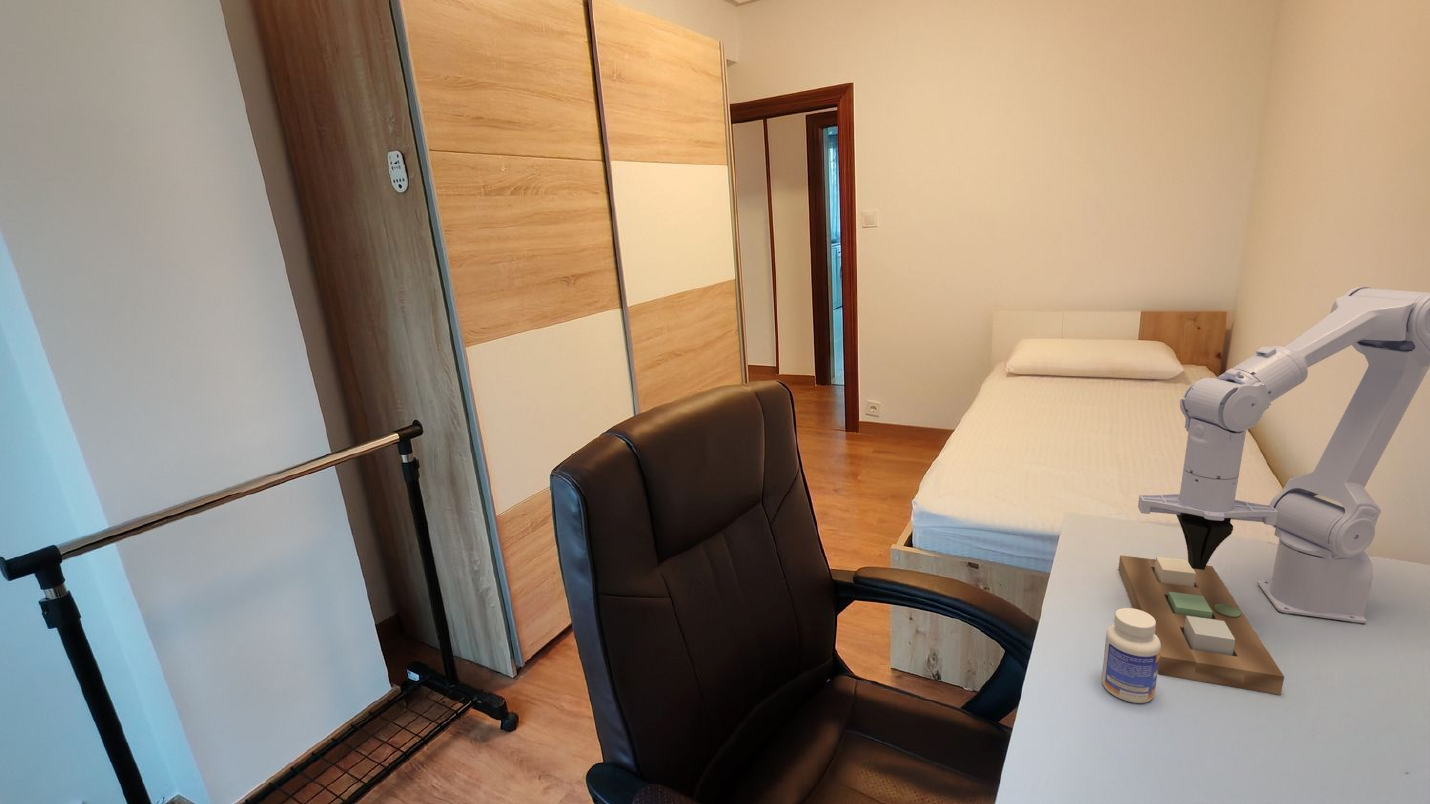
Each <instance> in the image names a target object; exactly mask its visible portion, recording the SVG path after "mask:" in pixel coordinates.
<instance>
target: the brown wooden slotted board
mask: <svg viewBox="0 0 1430 804" xmlns="http://www.w3.org/2000/svg"><path fill="white" fill-rule="evenodd" d="M1155 561H1156V558H1155V559H1154V558H1145V557H1139V556H1137V557H1136V556H1130V555H1119V563H1118V572H1119V575H1120V578H1121V581H1122V583H1123V585H1124V588H1125V591H1126V593H1127V596H1128V599H1129V601H1130V603H1131V607H1132V608H1133V609H1138V610H1141V611H1144V612H1146V613H1148V614H1150V615H1151V616H1152V617H1153V618H1154V619H1155V621H1156V628H1155V635H1156V636H1157V637H1158V638H1159V640H1160V643H1161V649H1160V657H1159V665H1158V672H1157V675H1162V676H1169V677H1173V678H1179V679H1185V680H1186V679H1187V680H1192V681H1196V682H1197V681H1198V682H1202V683H1210V684H1215V685H1219V686H1227V687H1233V688H1238V689H1244V690H1248V691H1249V690H1250V691H1256V692H1260V693H1261V692H1262V693H1267V694H1272V695H1278V696H1281V694H1282V692H1283V691H1282V689H1283V687H1284V686H1283V685H1284V680H1285V675H1284V673H1282V670H1281V669H1280V668H1279V666H1278V665H1277V663H1276V661H1275V659H1273V657H1272V656H1271V654H1270V652H1269V650H1267V648H1266V646H1265V644H1264V643H1263V641H1262V640H1261V639H1260V637H1259V635H1258V634H1257V631H1255V629H1254V628H1253V626H1252V625H1251V623H1250V622H1249V619H1248V618H1247V617H1246V616H1245V614H1244V613H1243V611H1242V609H1241V608H1240V606H1239V605H1238V603H1237V602H1236V600H1235V598H1234V597H1233V595H1232V594H1231V593H1230V591H1229V589H1228V588H1227V587H1226V585H1225V583H1224V582H1223V580H1222V578H1221V577H1220V575H1219V574H1218V573H1217V571H1216V570H1215V568H1214V566H1212V565H1208V564H1207V565H1206V567H1205V570H1200V569H1194V571H1195V573H1196V577H1195V583H1194V587H1187V586H1180V585H1172V584H1164V583H1158V581H1157V579H1156V576H1155V574H1154V569H1155ZM1169 592H1176V593H1183V594H1191V595H1198V596H1204V598H1205V600H1206V602H1207V603H1208V605H1209V607H1210V609H1211V610H1212V612H1213V613H1212V619H1213V620H1220V621H1224V622H1225V623H1226V625H1227V627H1228V628H1229V630H1230V632H1231V633H1232V635H1233V637H1234V638H1235V644H1234V650H1233V655H1232V656H1230V655H1224V654H1218V653H1211V652H1205V651H1199V650H1192V649H1190V648H1189V646H1188V644H1187V641H1186V639H1185V637H1184V635H1183V633H1184V626H1185V620H1186V616H1189V615H1182V614H1175V613H1173V612H1172V610H1171V608H1170V606H1169V604H1168V602H1167V601H1168V594H1169ZM1192 617H1196V616H1192ZM1199 618H1203V617H1199ZM1206 619H1210V618H1206Z"/></svg>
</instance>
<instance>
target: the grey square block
mask: <svg viewBox="0 0 1430 804" xmlns="http://www.w3.org/2000/svg"><path fill="white" fill-rule="evenodd" d="M1183 635H1184V637H1185V639H1186V641H1187V644H1188V646H1189V648H1190V649H1192V650H1199V651H1205V652H1211V653H1218V654H1224V655H1230V656H1232V655H1233V650H1234V644H1235V638H1234V637H1233V635H1232V633H1231V632H1230V630H1229V628H1228V627H1227V625H1226V623H1225V622H1224V621H1220V620H1213V619H1206V618H1199V617H1192V616H1186V620H1185V626H1184V633H1183Z"/></svg>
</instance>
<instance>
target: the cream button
mask: <svg viewBox="0 0 1430 804" xmlns="http://www.w3.org/2000/svg"><path fill="white" fill-rule="evenodd" d="M1155 559H1156V561H1155V569H1154V574H1155V576H1156V579H1157V581H1158V583H1164V584H1172V585H1180V586H1187V587H1194V583H1195V577H1196V573H1195V571H1194V569H1193V568H1191V566H1190V564H1189V563H1188V559H1181V558H1173V557H1164V556H1155Z"/></svg>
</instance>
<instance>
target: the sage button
mask: <svg viewBox="0 0 1430 804" xmlns="http://www.w3.org/2000/svg"><path fill="white" fill-rule="evenodd" d="M1167 602H1168V604H1169V606H1170V608H1171V610H1172V612H1173V613H1175V614H1182V615H1189V616H1196V617H1203V618H1210V619H1212V613H1213V612H1212V610H1211V609H1210V607H1209V605H1208V603H1207V602H1206V600H1205V598H1204V596H1198V595H1191V594H1183V593H1176V592H1169V594H1168V601H1167Z"/></svg>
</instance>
